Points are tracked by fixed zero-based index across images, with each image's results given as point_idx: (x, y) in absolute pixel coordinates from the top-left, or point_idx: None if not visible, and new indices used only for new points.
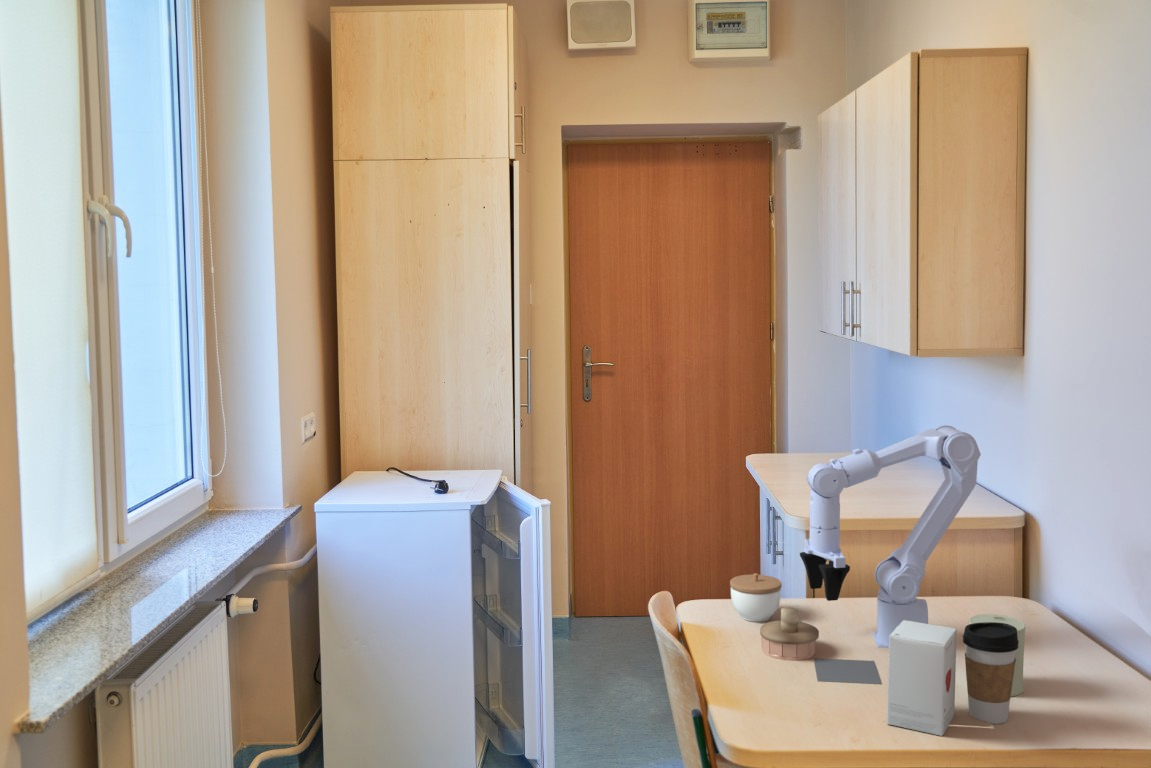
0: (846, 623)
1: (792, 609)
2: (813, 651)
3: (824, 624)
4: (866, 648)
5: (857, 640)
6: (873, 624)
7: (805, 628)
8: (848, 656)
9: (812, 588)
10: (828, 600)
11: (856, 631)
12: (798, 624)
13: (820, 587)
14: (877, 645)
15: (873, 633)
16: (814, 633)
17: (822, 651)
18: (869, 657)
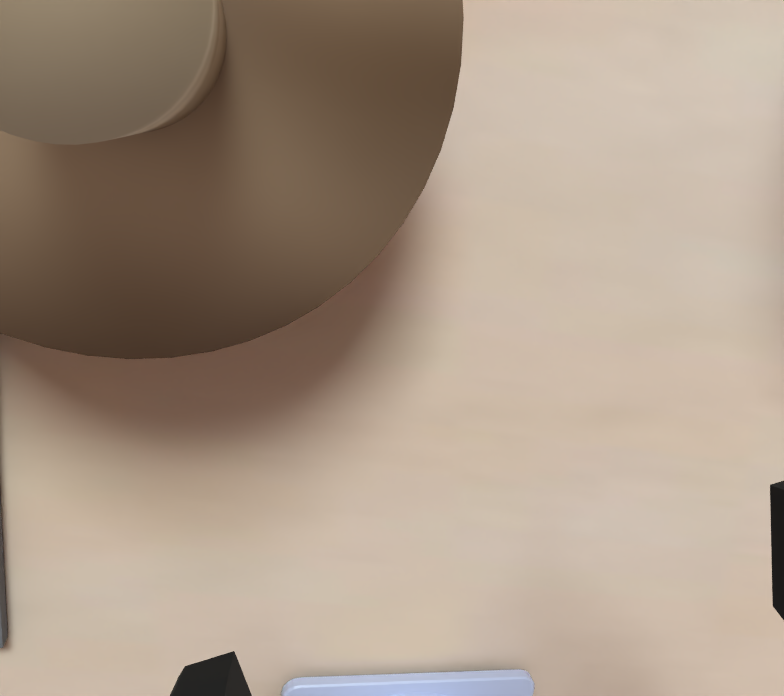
0: (735, 545)
1: (80, 45)
2: None
3: (743, 416)
4: (291, 615)
5: (437, 578)
6: (693, 678)
7: (200, 232)
8: (122, 497)
9: (775, 499)
10: (181, 676)
11: (594, 586)
12: (330, 175)
13: (781, 605)
14: (291, 688)
15: (507, 680)
16: (39, 305)
17: None
18: (119, 618)
